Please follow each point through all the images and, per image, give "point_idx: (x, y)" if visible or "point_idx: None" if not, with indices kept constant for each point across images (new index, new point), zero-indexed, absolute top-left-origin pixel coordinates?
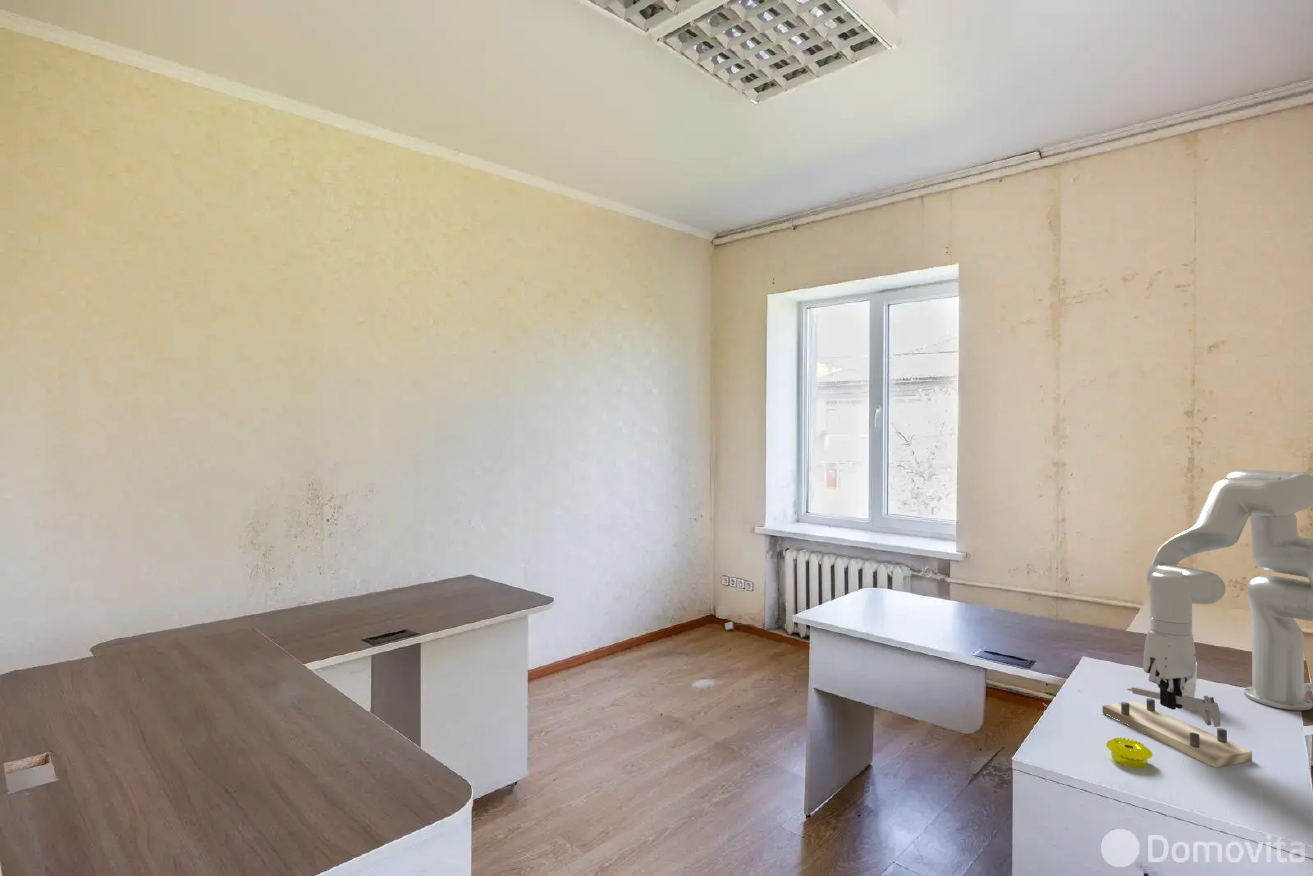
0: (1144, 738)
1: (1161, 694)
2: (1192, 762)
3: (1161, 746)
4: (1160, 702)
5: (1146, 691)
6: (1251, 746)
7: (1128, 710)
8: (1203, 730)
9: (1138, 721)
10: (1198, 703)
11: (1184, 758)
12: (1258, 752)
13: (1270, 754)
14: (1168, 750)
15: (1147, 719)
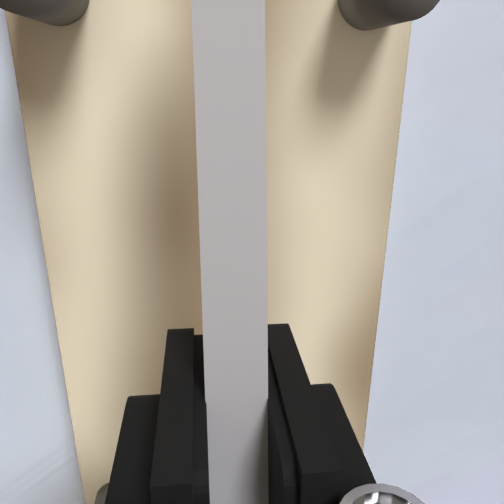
0: (5, 253)
1: (116, 467)
2: (46, 501)
3: (28, 354)
4: (169, 337)
5: (196, 132)
6: (493, 435)
7: (44, 21)
8: (371, 373)
9: (45, 157)
10: None
11: (40, 469)
12: (453, 478)
13: (479, 497)
14: (28, 395)
15: (157, 147)
